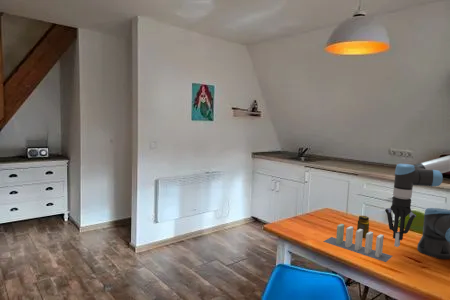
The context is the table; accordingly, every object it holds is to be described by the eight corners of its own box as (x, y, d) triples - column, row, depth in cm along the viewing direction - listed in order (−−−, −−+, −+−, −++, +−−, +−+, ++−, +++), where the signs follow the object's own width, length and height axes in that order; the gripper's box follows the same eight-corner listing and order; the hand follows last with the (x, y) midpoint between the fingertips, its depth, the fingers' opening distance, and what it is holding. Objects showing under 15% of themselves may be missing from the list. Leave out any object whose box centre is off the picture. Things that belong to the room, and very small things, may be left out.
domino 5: (382, 254, 153) (383, 235, 152) (378, 257, 149) (380, 237, 148) (378, 253, 154) (380, 234, 153) (374, 256, 150) (376, 236, 149)
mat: (392, 256, 151) (392, 255, 151) (385, 262, 144) (385, 262, 144) (331, 237, 174) (331, 236, 174) (322, 242, 167) (322, 241, 167)
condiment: (371, 238, 175) (372, 217, 174) (362, 240, 171) (364, 220, 170) (359, 233, 182) (361, 214, 180) (350, 236, 177) (352, 216, 176)
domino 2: (352, 245, 163) (353, 226, 162) (348, 247, 160) (349, 229, 159) (349, 244, 164) (350, 226, 163) (345, 246, 161) (346, 228, 160)
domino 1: (343, 242, 167) (344, 224, 166) (338, 244, 163) (340, 226, 162) (340, 241, 168) (341, 223, 167) (335, 243, 164) (337, 225, 163)
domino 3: (361, 248, 160) (363, 229, 159) (357, 250, 156) (359, 231, 155) (358, 247, 161) (360, 228, 160) (354, 249, 157) (356, 230, 156)
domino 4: (371, 251, 156) (373, 232, 155) (367, 254, 153) (369, 234, 152) (368, 250, 157) (369, 231, 156) (364, 253, 154) (366, 233, 153)
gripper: (420, 198, 141) (414, 248, 143) (389, 193, 150) (385, 239, 152) (415, 201, 135) (410, 252, 138) (384, 195, 145) (379, 243, 147)
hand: (397, 245), depth 145 cm, fingers closed
